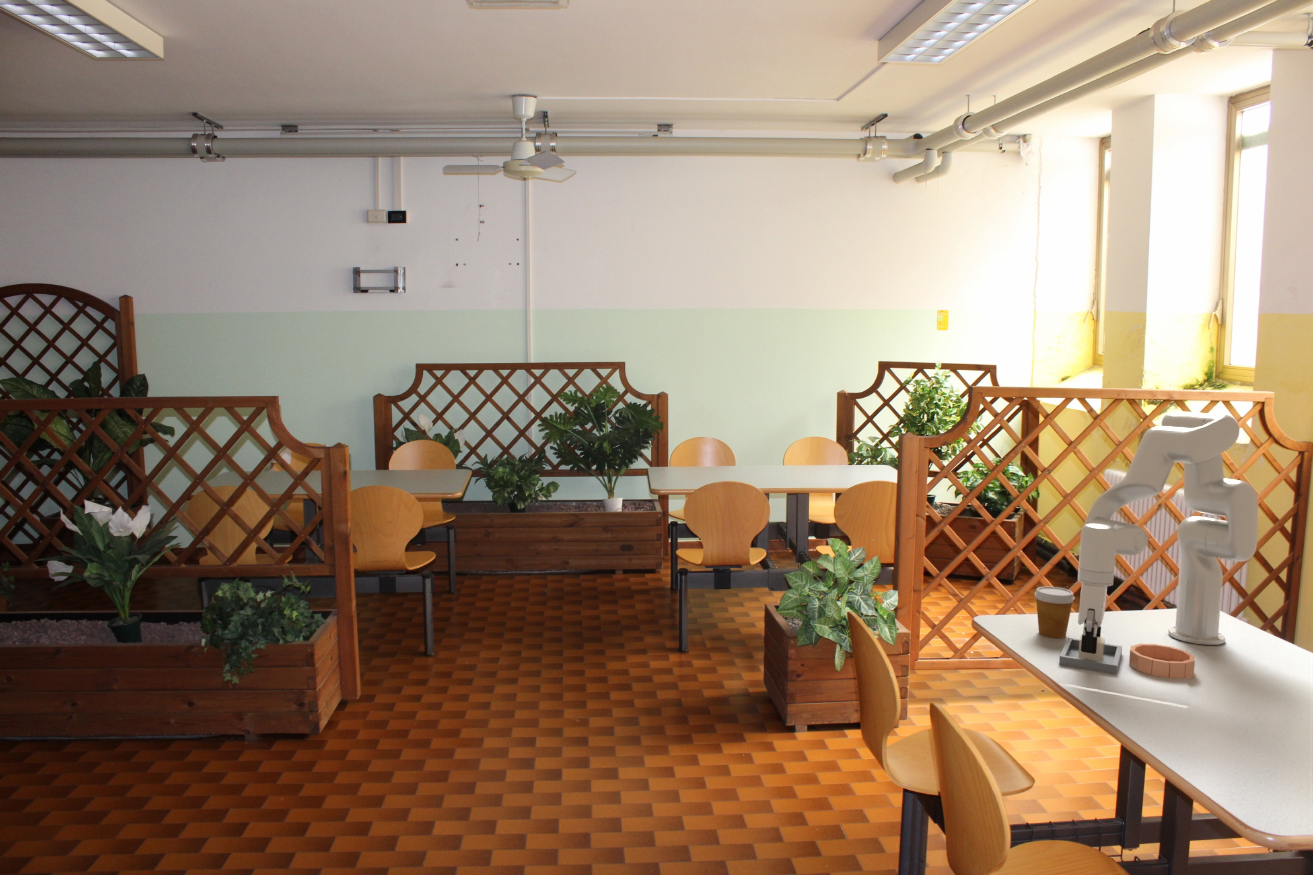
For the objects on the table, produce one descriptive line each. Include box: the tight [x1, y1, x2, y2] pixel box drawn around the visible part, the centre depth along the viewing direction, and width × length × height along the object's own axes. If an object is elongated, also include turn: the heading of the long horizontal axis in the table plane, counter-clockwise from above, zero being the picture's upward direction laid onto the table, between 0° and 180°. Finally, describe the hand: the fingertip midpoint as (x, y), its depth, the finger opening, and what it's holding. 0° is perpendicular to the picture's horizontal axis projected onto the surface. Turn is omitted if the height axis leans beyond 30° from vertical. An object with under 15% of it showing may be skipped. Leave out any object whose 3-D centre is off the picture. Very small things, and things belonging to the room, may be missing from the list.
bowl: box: [1128, 643, 1196, 680], centre depth 207 cm, size 13×13×4 cm
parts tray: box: [1058, 637, 1123, 675], centre depth 212 cm, size 16×12×2 cm
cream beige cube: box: [1078, 634, 1106, 662], centre depth 212 cm, size 5×5×5 cm
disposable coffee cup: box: [1034, 586, 1076, 639], centre depth 230 cm, size 10×10×12 cm
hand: (1090, 646), depth 212 cm, fingers open, 9 cm apart
